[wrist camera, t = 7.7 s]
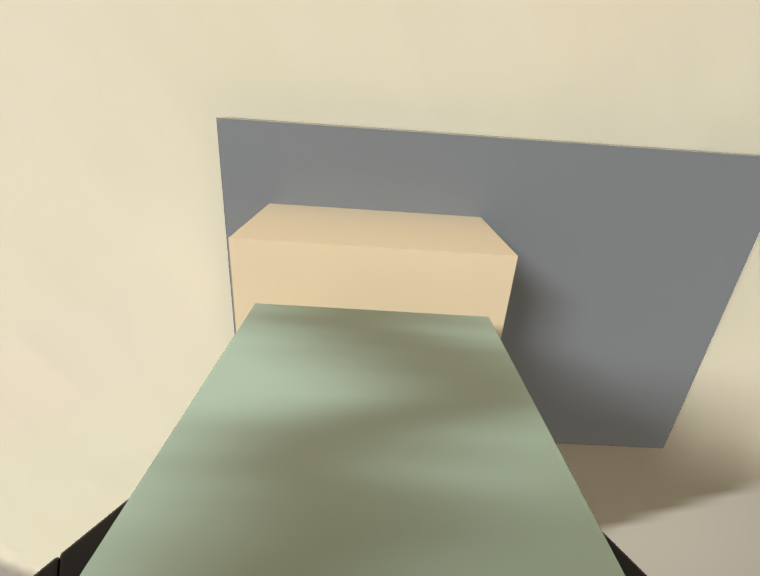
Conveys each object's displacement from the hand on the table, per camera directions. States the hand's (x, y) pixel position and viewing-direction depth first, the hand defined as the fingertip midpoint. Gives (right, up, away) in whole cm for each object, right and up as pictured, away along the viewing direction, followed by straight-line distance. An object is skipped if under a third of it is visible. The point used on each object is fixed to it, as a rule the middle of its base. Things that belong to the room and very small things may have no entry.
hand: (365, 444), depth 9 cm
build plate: (+4, +3, +7) cm, 9 cm away
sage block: (0, +1, +1) cm, 1 cm away
